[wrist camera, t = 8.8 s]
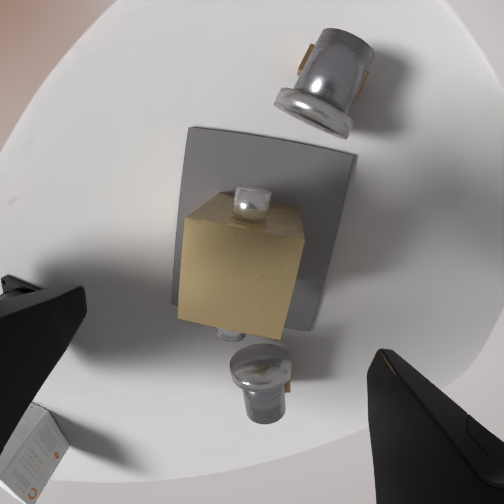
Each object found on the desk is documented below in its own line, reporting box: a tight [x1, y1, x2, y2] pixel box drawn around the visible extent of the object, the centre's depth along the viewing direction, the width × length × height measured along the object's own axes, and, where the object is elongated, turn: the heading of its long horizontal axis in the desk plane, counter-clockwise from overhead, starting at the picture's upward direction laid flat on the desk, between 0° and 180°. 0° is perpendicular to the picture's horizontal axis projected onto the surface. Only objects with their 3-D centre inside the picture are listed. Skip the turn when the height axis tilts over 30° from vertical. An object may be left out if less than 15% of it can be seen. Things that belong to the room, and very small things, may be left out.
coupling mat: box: [172, 127, 353, 331], centre depth 17 cm, size 9×11×1 cm
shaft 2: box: [273, 28, 374, 139], centre depth 12 cm, size 4×4×5 cm
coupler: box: [177, 185, 305, 342], centre depth 15 cm, size 4×7×6 cm, turn 171°
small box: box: [0, 402, 70, 504], centre depth 24 cm, size 8×6×13 cm
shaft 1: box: [230, 344, 292, 424], centre depth 18 cm, size 4×4×5 cm
